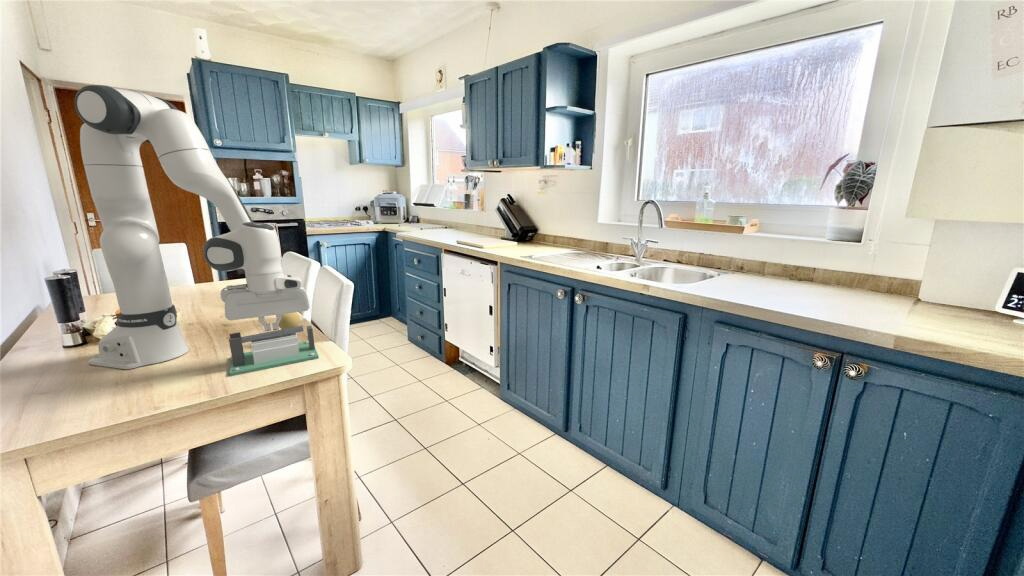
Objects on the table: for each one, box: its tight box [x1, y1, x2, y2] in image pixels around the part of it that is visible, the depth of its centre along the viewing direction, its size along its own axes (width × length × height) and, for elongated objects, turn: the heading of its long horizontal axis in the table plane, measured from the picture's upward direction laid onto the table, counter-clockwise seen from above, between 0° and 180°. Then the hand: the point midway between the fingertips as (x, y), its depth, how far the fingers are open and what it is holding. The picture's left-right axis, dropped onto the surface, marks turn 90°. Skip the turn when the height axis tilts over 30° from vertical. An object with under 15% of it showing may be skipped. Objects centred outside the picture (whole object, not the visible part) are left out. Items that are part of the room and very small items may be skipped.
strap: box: [240, 325, 305, 344], centre depth 113 cm, size 17×3×1 cm, turn 123°
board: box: [228, 325, 320, 377], centre depth 114 cm, size 21×14×8 cm, turn 123°
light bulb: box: [278, 312, 301, 340], centre depth 127 cm, size 6×6×10 cm
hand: (271, 330), depth 113 cm, fingers closed
